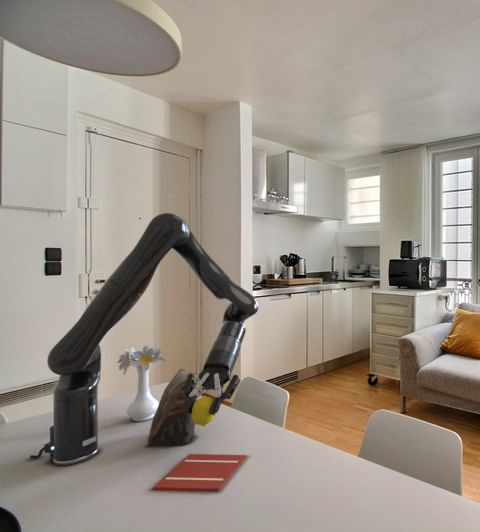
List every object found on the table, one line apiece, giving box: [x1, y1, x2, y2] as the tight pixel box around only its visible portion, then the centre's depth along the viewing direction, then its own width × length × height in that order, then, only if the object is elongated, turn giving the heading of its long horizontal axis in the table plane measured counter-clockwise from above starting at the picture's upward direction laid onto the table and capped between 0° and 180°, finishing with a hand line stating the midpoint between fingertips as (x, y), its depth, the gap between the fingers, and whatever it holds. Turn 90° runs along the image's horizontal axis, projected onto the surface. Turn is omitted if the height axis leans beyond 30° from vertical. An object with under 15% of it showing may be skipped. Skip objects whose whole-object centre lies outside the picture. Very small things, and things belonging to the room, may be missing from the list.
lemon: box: [192, 395, 216, 427], centre depth 96 cm, size 6×6×8 cm
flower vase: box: [116, 345, 167, 422], centre depth 127 cm, size 13×18×25 cm
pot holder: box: [152, 453, 247, 492], centre depth 96 cm, size 16×15×1 cm
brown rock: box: [146, 368, 197, 448], centre depth 113 cm, size 13×13×20 cm
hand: (200, 413), depth 94 cm, fingers closed on lemon, 5 cm apart
